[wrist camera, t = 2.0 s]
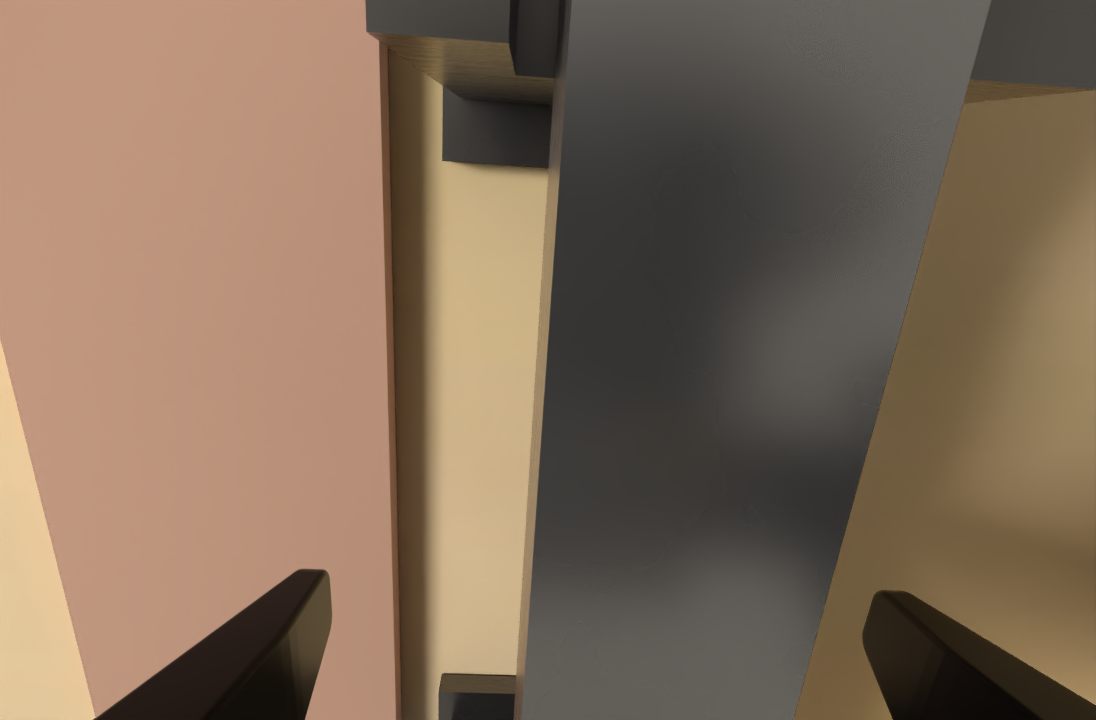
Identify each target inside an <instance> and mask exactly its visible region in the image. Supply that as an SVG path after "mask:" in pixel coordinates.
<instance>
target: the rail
mask: <svg viewBox="0 0 1096 720" xmlns="http://www.w3.org/2000/svg"><path fill="white" fill-rule="evenodd" d="M990 3H991V0H559V13H558V29H557V45H556V60H555V76H554V92H553V107H552V123H551V139H550V154H549V170H548V186H547V202H546V217H545V233H544V249H543V264H542V280H541V296H540V312H539V327H538V343H537V359H536V374H535V390H534V406H533V421H532V437H531V453H530V469H529V484H528V500H527V516H526V531H525V547H524V563H523V578H522V594H521V610H520V626H519V641H518V657H517V673H516V688H515V704H514V720H793V719H794V715H795V711H796V708H797V704H798V701H799V697H800V693H801V690H802V686H803V682H804V679H805V675H806V672H807V668H808V664H809V661H810V657H811V653H812V650H813V646H814V642H815V639H816V635H817V632H818V628H819V624H820V621H821V617H822V613H823V610H824V606H825V603H826V599H827V595H828V592H829V588H830V584H831V581H832V577H833V573H834V570H835V566H836V563H837V559H838V555H839V552H840V548H841V544H842V541H843V537H844V534H845V530H846V526H847V523H848V519H849V515H850V512H851V508H852V505H853V501H854V497H855V494H856V490H857V486H858V483H859V479H860V475H861V472H862V468H863V465H864V461H865V457H866V454H867V450H868V446H869V443H870V439H871V436H872V432H873V428H874V425H875V421H876V417H877V414H878V410H879V406H880V403H881V399H882V396H883V392H884V388H885V385H886V381H887V377H888V374H889V370H890V367H891V363H892V359H893V356H894V352H895V348H896V345H897V341H898V337H899V334H900V330H901V327H902V323H903V319H904V316H905V312H906V308H907V305H908V301H909V298H910V294H911V290H912V287H913V283H914V279H915V276H916V272H917V269H918V265H919V261H920V258H921V254H922V250H923V247H924V243H925V239H926V236H927V232H928V229H929V225H930V221H931V218H932V214H933V210H934V207H935V203H936V200H937V196H938V192H939V189H940V185H941V181H942V178H943V174H944V170H945V167H946V163H947V160H948V156H949V152H950V149H951V145H952V141H953V138H954V134H955V131H956V127H957V123H958V120H959V116H960V112H961V109H962V105H963V101H964V98H965V94H966V91H967V87H968V83H969V80H970V76H971V72H972V69H973V65H974V62H975V58H976V54H977V51H978V47H979V43H980V40H981V36H982V33H983V29H984V25H985V22H986V18H987V14H988V11H989V7H990Z"/></svg>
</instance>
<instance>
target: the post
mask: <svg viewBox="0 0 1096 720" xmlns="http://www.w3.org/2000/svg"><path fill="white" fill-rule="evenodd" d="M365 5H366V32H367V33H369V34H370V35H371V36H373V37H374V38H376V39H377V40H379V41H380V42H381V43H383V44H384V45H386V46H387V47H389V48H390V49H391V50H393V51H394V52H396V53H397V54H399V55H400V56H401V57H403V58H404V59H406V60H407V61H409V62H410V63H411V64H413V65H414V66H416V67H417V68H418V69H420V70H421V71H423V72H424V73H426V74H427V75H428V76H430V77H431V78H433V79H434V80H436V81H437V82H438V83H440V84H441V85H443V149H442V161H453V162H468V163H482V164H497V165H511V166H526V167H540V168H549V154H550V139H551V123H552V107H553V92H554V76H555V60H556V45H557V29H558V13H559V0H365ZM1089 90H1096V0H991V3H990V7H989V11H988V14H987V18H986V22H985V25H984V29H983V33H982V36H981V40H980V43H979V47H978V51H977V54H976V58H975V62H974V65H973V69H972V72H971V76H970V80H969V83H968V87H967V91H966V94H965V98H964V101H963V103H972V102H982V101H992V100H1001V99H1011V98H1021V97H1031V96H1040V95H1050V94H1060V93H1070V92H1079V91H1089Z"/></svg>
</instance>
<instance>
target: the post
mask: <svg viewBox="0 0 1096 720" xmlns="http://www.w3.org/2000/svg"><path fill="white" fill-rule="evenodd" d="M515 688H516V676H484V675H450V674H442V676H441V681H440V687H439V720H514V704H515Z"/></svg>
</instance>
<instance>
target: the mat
mask: <svg viewBox="0 0 1096 720" xmlns="http://www.w3.org/2000/svg"><path fill="white" fill-rule="evenodd" d="M0 339H1V343H2V347H3V351H4V355H5V359H6V363H7V367H8V371H9V375H10V379H11V383H12V387H13V390H14V394H15V398H16V402H17V406H18V410H19V414H20V418H21V422H22V426H23V430H24V434H25V438H26V442H27V446H28V450H29V454H30V458H31V462H32V466H33V470H34V474H35V478H36V482H37V486H38V490H39V494H40V498H41V502H42V506H43V510H44V514H45V517H46V521H47V525H48V529H49V533H50V537H51V541H52V545H53V549H54V553H55V557H56V561H57V565H58V569H59V573H60V577H61V581H62V585H63V589H64V593H65V597H66V601H67V605H68V609H69V613H70V617H71V621H72V625H73V629H74V633H75V637H76V640H77V644H78V648H79V652H80V656H81V660H82V664H83V668H84V672H85V676H86V680H87V684H88V688H89V692H90V696H91V700H92V704H93V708H94V712H95V716H96V717H97V716H99V715H100V714H101V713H103V712H104V711H106V710H107V709H108V708H110V707H111V706H112V705H114V704H115V703H116V702H118V701H119V700H121V699H122V698H123V697H125V696H126V695H127V694H129V693H130V692H131V691H133V690H134V689H136V688H137V687H138V686H140V685H141V684H142V683H144V682H145V681H146V680H148V679H149V678H150V677H152V676H153V675H155V674H156V673H157V672H159V671H160V670H161V669H163V668H164V667H165V666H167V665H168V664H170V663H171V662H172V661H174V660H175V659H176V658H178V657H179V656H180V655H182V654H183V653H185V652H186V651H187V650H189V649H190V648H191V647H193V646H194V645H195V644H197V643H198V642H200V641H201V640H202V639H204V638H205V637H206V636H208V635H209V634H210V633H212V632H213V631H214V630H216V629H217V628H219V627H220V626H221V625H223V624H224V623H225V622H227V621H228V620H229V619H231V618H232V617H234V616H235V615H236V614H238V613H239V612H240V611H242V610H243V609H244V608H246V607H247V606H249V605H250V604H251V603H253V602H254V601H255V600H257V599H258V598H259V597H261V596H262V595H263V594H265V593H266V592H268V591H269V590H270V589H272V588H273V587H274V586H276V585H277V584H278V583H280V582H281V581H283V580H284V579H285V578H287V577H288V576H289V575H291V574H292V573H293V572H295V571H297V570H299V569H324V570H326V571H327V572H328V574H329V576H330V587H331V602H332V624H331V630H330V634H329V637H328V641H327V644H326V648H325V651H324V655H323V658H322V662H321V665H320V669H319V672H318V676H317V679H316V683H315V686H314V690H313V693H312V697H311V700H310V704H309V707H308V711H307V714H306V718H305V720H402V714H401V667H400V619H399V572H398V524H397V476H396V429H395V381H394V334H393V286H392V238H391V191H390V143H389V95H388V48H387V46H386V45H384V44H383V43H381V42H380V41H379V40H377V39H376V38H374V37H373V36H371V35H370V34H369V33H367V32H366V5H365V0H0Z"/></svg>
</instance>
